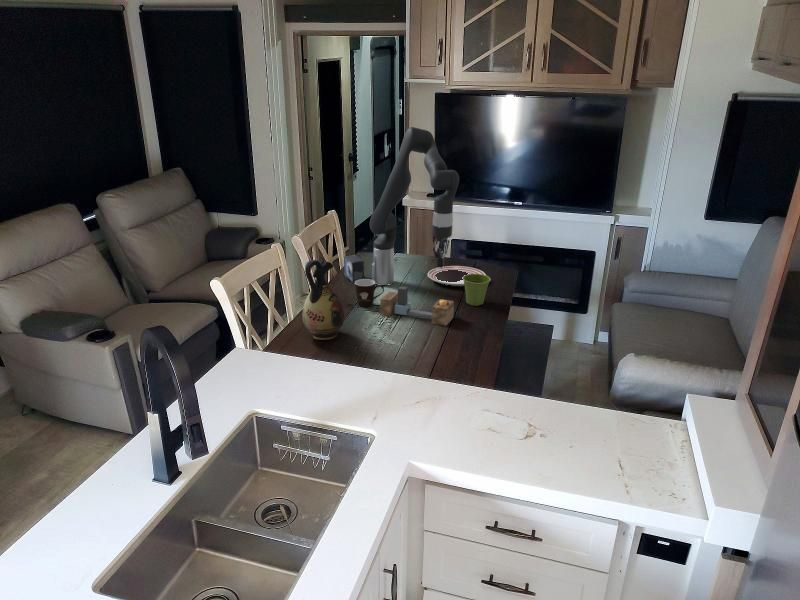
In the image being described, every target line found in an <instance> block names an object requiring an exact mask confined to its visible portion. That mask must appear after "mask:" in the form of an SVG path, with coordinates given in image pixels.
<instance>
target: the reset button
mask: <svg viewBox="0 0 800 600" xmlns="http://www.w3.org/2000/svg"><path fill="white" fill-rule="evenodd" d="M447 300H448V299H443V300H440V303H439V305H440V306H447Z"/></svg>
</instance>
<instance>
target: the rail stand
mask: <svg viewBox="0 0 800 600" xmlns="http://www.w3.org/2000/svg"><path fill="white" fill-rule="evenodd" d="M440 300H444V299H441V298H440V299H438V300H437V301H436V302H435V303H434V305H432V309H431V312H430V311H425V310H417V309H408V310H407V315H404V316H406V317H414V318H418V319H425V320H431V324H433V325H434V324H435V325H439V326H447V325H448V324H449V323H450V322H451V321H452V320H453V318H454V309H455V302H454V300H449V299H446V300H447V306H440V305H439V303H440ZM397 303H398V292H396V291H394V292H393V291H388V292H387V293H386V294H385V295H383V296H382V297H381V298H380V316H386V317H391V316H393V315H397V314H396V313H395V305H396V304H397ZM398 315H399V316H401V315H402V314H398ZM402 316H403V315H402Z"/></svg>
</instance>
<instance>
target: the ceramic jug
mask: <svg viewBox="0 0 800 600" xmlns="http://www.w3.org/2000/svg"><path fill="white" fill-rule="evenodd" d="M304 267H305V268H304V271H305V272H304V273H305V277H306V279H307V281H308V284H309V287H310V291H309V293H308V295H307V297H306V299H305V301H304V303H303V307H302V322H303V323H302V324H303V325H304V327H305V328H306V329H307V331H308V332H310V334H311V335H312V337H313V339H315V340H321V341H322V340H333V339H336V338H337V337H338V336H339V335H338V334H339V331H340V330H341V328H342V326H343V324H344V321H345V310H344V306H343V303H342V302H341V299H340V298H339V297H338V295H337V294H336V292H335V291H334V290H333V288H332V287H331V286H330V285H329V284H328V282H327V281H326V277H325V276H326V274H327V273H328V272H329V271H330V270H331V269H333V268H334V267H335V266H334V264H333V263H331V262H330V261H327V260H326V261H323V260H322V259H321V260H320V261H319V260H316V259H310V260H308V261H307V262H306V263H305V266H304ZM313 267H315V270H314V272H313V274H312V272H311V271H312V268H313ZM314 278H315V281H314Z"/></svg>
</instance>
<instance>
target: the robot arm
mask: <svg viewBox="0 0 800 600" xmlns="http://www.w3.org/2000/svg"><path fill="white" fill-rule="evenodd" d="M401 142H402V143H401V145H400V149H399V152H398V156H397V158H396V161H395V163H394V165H393V168H392V171H391V172H390V175H389V177H388V180H387V182H386V184H385V185H386V186H385V187H384V189H383V192H382V195H381V196H380V200H379V202H378V204H377V205H376V208H375V210H374V211H373V213H372V215H371V217H370V220H369V228H370V231H371V232H372V233H373V234H375V235H378V236H377V238H376V239H374V241H373V262H372V263H371V268H372V269H371V271H372V272H371V273H372V274H371V276H372V278H371V280H374V281H375V283H377V284H380V285H387V286H389V285H388V284H391V285H393V284H394V283H395V275H394V273H395V266H394V265H395V257H394V256H395V249H394V248H395V247H394V246H395V242H396V239H397V218H396V216H395V215H394V213H393V212H392V211H393V210H394V208H396V206H397V205H398V204H399V203H400V202H401V200H403V198H404V197H405V196H406V194H407V193H408V191H409V190H408V189H409V187H410V185H411V183H412V176H411V169H410V166H409V158H410V155H411V154H410V153H412V152H415V153H418V154H419V153H420V154H424V155H425V156H424V159H423V163H424V166H425V169H426V171H427V172H428V174H429V179H430V186H431V188H432V189H434V190H437V191H442V190H443V191H444V190H445V192H444V193H442V194H440V195H437V196H435V198H434V200H433V201H434V202H433V216H432V230H431V232H432V233H431V235H432V236H433V237H435V238H436V239H435V242H434V245H435V247H432V250H433V254H434V257H435V259H437V262H436V263H437V264H436V266H437V267H436V268H439V267H440V268H442V267H445V266H444V264H445V258H446V255H447V253H448V250H449V246H450V240H449V239H448V238H451V237H452V235H453V225H454V224H453V221H454V218H453V210H454V207H453V205H454V199H455V197H456V193H457V189H458V187H459V184H460V176H459V173H458V172H457V171H456V170H454V169H448V166H447V163H445V161H444V159H443V158H442V156H441V155H440V153H439V150H438V146H437V144H436V140H435V138H434V136H433V134H432V132H430V131H429V130H427V129H422V128H419V127H413V126H409V128H408V129H406V132H405V133H404V136H403V139H402V141H401ZM393 282H394V283H393ZM392 283H393V284H392Z"/></svg>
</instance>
